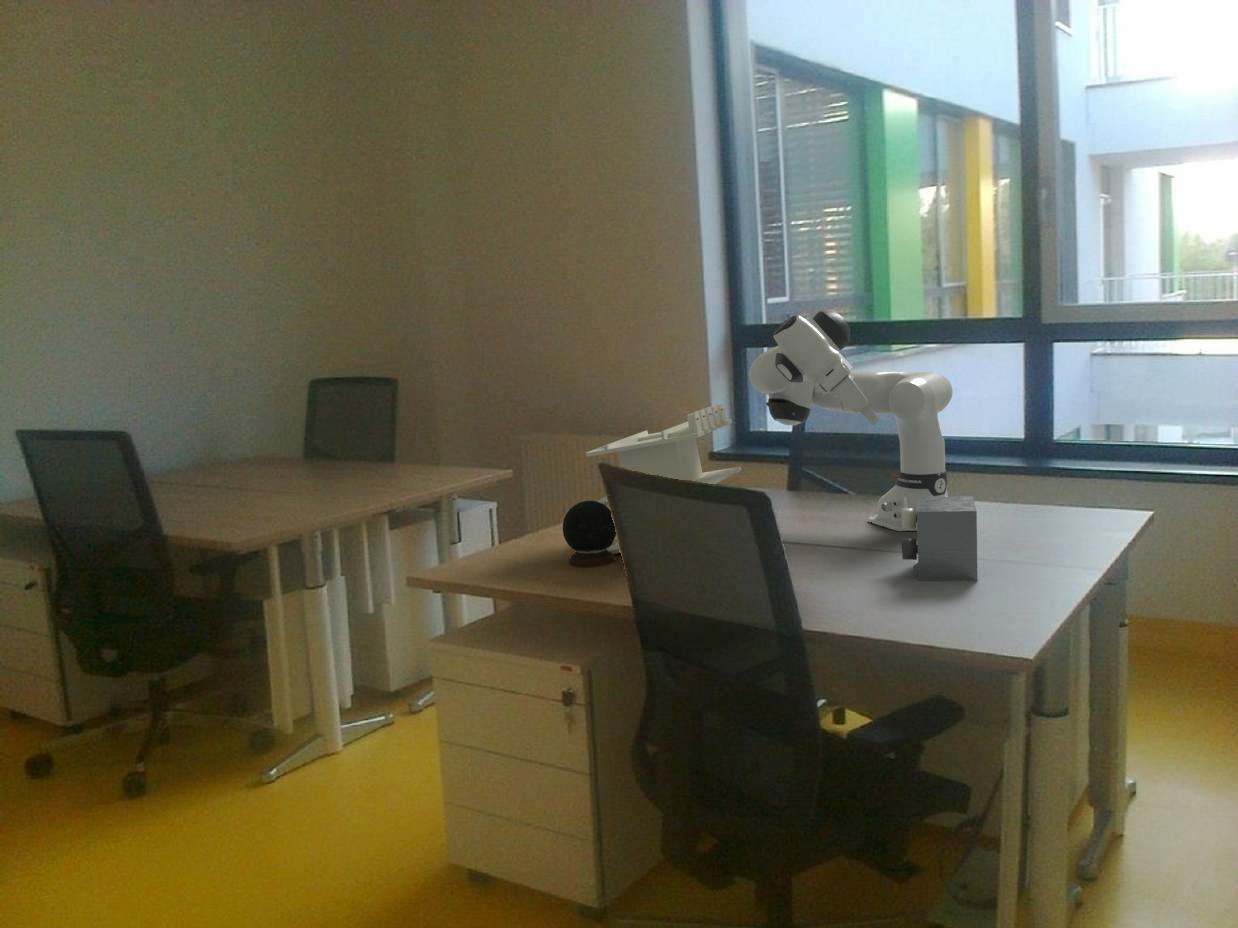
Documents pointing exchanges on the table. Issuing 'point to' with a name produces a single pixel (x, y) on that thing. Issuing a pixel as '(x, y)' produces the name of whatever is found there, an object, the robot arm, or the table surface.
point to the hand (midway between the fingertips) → (876, 422)
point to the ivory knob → (909, 518)
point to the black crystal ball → (589, 534)
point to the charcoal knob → (909, 549)
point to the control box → (947, 539)
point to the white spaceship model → (670, 451)
